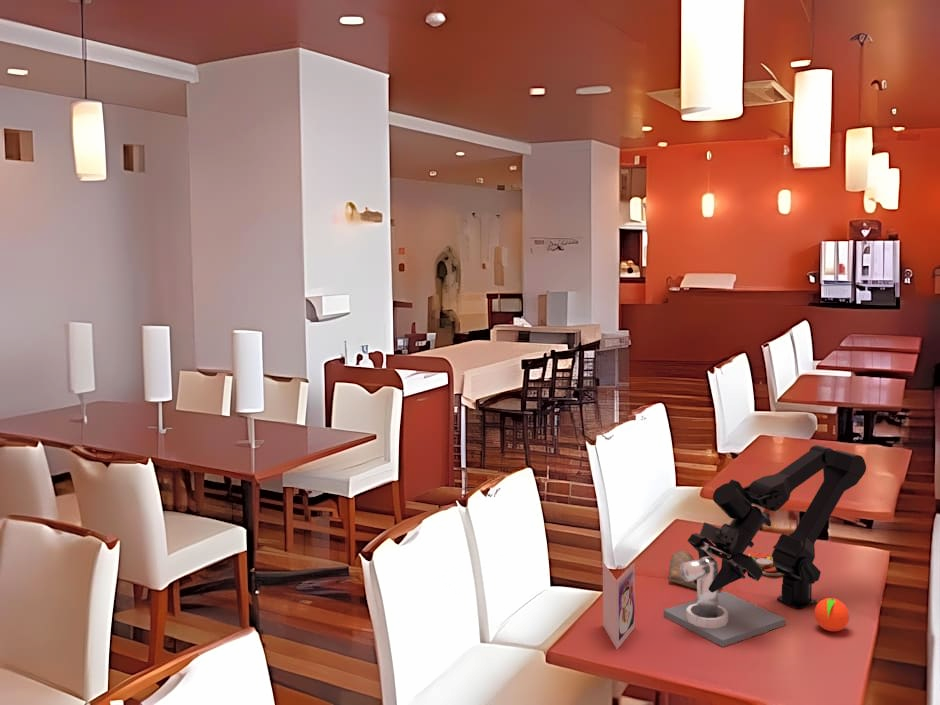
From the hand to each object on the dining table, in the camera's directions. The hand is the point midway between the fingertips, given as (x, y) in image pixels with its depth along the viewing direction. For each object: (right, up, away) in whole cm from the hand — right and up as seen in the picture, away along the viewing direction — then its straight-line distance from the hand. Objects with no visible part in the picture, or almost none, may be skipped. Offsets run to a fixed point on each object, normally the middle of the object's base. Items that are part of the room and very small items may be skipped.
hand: (702, 587), depth 189 cm
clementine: (+27, -9, -2) cm, 29 cm away
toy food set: (+26, -5, +34) cm, 43 cm away
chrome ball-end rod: (0, -7, +1) cm, 7 cm away
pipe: (+5, -6, +26) cm, 27 cm away
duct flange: (+6, -9, +4) cm, 11 cm away
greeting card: (-20, -10, -1) cm, 22 cm away
